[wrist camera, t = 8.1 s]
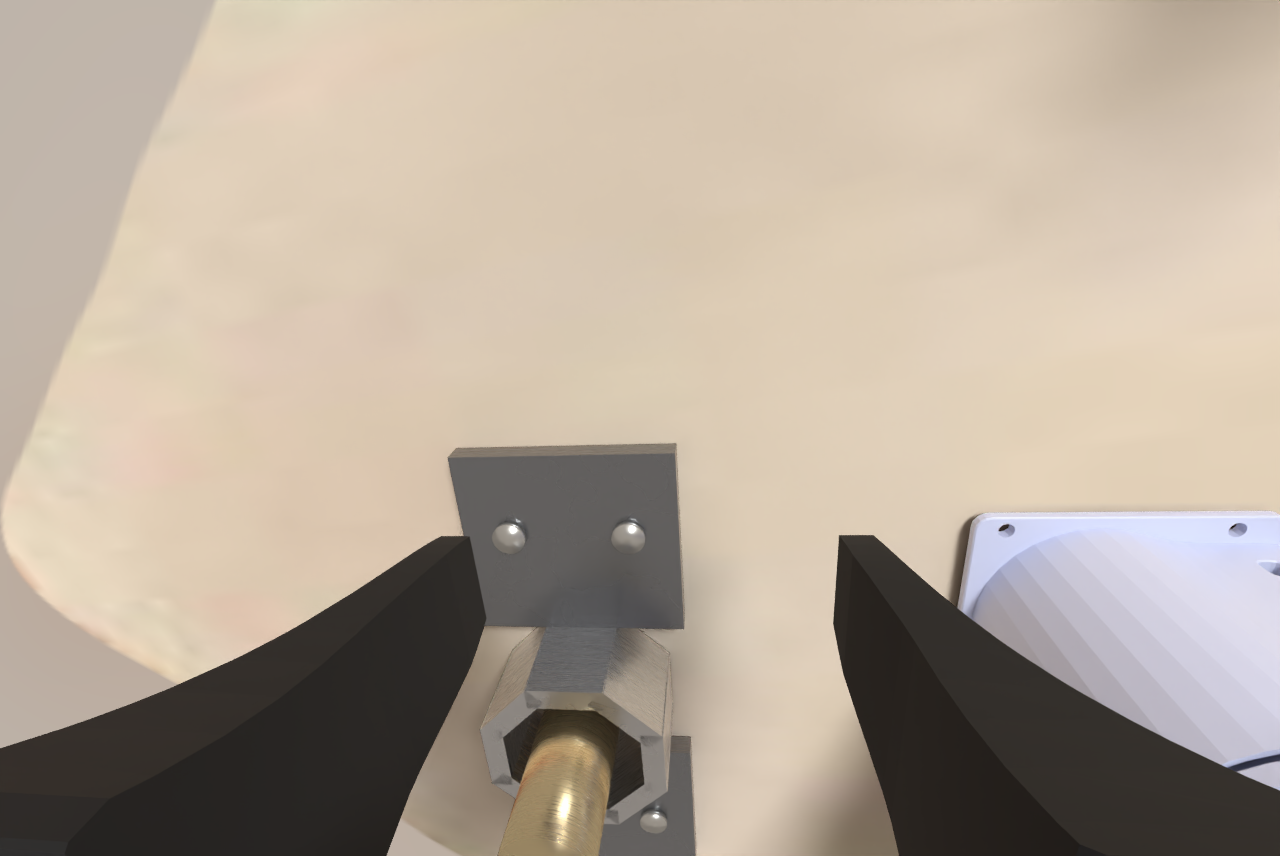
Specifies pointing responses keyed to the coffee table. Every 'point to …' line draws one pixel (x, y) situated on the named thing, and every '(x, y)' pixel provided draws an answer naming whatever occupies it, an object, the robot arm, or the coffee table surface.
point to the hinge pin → (563, 787)
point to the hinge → (586, 617)
